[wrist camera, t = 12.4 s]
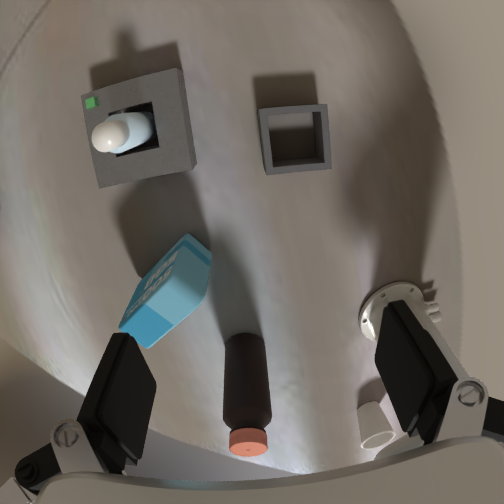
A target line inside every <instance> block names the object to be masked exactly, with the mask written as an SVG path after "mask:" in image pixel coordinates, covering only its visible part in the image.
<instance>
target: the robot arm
mask: <svg viewBox="0 0 504 504" xmlns="http://www.w3.org/2000/svg"><path fill="white" fill-rule="evenodd" d="M438 309H439V305H438V303H434V304H430V305H427V304H425V303H424V297H423V294H422V292H421V291H420V290H419V288H418V287H417V286H416V285H414V284H412V283H410V282H402V281H400V282H394V283H391V284H388V285H386V286H384V287H382V288H380V289H379V290H378V291H376V292H375V293H374V294H373V295H372V296H371V297H370V298H369V299H368V300H367V301H366V303H365V304H364V306H363V308H362V310H361V312H360V316H359V326H360V329H361V331H362V333H363V335H364V336H365V337H366V338H368V339H370V340H372V341H377V348H376V353H375V364H376V367H377V369H378V371H379V374H380V376H381V378H382V381H383V383H384V386H385V388H386V390H387V393H388V395H389V398H390V400H391V403H392V405H393V408H394V410H395V413H396V415H397V418H398V420H399V423H400V425H401V428H402V430H403V431H404V432H407V433H408V434H406V435H404V436H403V437H401V438H399V439H398V440H396V441H394V442H393V443H391V444H389V445H388V446H386V447H385V448H383V449H382V450H381V451H380V452H379V453H378V454H377V455H376V457H375V459H374V460H373V461H369V462H366V463H362V464H357V465H353V466H349V467H344V468H339V469H334V470H329V471H324V472H318V473H312V474H305V475H298V476H291V477H282V478H272V479H262V480H261V479H260V480H244V481H181V480H165V479H155V478H143V477H135V476H127V475H126V473H125V471H124V468H125V464H127V465H134V466H137V461H138V459H141V457H142V454H143V448H144V444H145V439H146V434H147V429H148V424H149V420H150V415H151V411H152V406H153V402H154V397H155V393H156V381H155V379H154V377H153V375H152V373H151V371H150V369H149V367H148V365H147V363H146V361H145V359H144V357H143V355H142V353H141V351H140V349H139V347H138V344H137V342H136V340H135V338H134V337H133V336H130V334H129V333H127V332H125V333H114V334H113V335H112V337H111V339H110V341H109V343H108V345H107V348H106V350H105V352H104V354H103V357H102V359H101V361H100V363H99V366H98V368H97V370H96V372H95V375H94V377H93V380H92V382H91V384H90V387H89V389H88V392H87V394H86V397H85V399H84V402H83V404H82V407H81V410H80V412H79V415H78V417H77V420H73V419H65V420H63V421H60V422H59V423H57V424H56V425H55V427H54V428H53V430H52V432H51V436H50V439H51V443H49V444H47V445H46V446H44V447H42V448H40V449H39V450H37V451H35V452H33V453H32V454H30V455H28V456H26V457H25V458H23V459H22V460H20V461H19V463H18V464H17V466H16V468H15V478H12V477H11V478H10V479H9V480H8V481H7V482H6V483H5V484H4V485H3V486H2V487H1V488H0V504H504V401H501V400H498V399H495V398H492V397H489V396H488V391H487V388H486V386H485V385H484V384H483V383H482V382H481V381H480V380H478V379H476V378H473V377H470V376H469V375H468V373H467V372H466V370H465V369H464V368H463V366H462V365H461V363H460V362H459V360H458V358H457V357H456V355H455V354H454V352H453V351H452V349H451V348H450V346H449V345H448V343H447V342H446V341H445V339H444V338H443V336H442V335H441V333H440V332H439V330H438V329H437V328H436V326H435V325H434V323H436V322H439V321H441V319H442V316H441V313H440V312H439V311H437V310H438ZM433 311H437V312H433ZM429 312H433V313H430V314H428V313H429Z"/></svg>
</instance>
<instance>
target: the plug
mask: <svg viewBox="0 0 504 504" xmlns="http://www.w3.org/2000/svg"><path fill="white" fill-rule="evenodd" d="M156 134H157V130H156V124H155V118H154V115H153V114H152V113H150V112H146V111H143V112H132V113H122V114H115V115H112V116H110V117H108V118H107V119H106V120H105V121H104V122H102V123H100V124H98V125H97V126H96V127H95V128H94V130H93V132H92V143H93V146H94V147H95V148H96V149H97V150H98V151H100V152H112V153H121V152H124V151H126V150H129V149H131V148H133V147H135V146H138V145H140V144H143V143H145V142H147V141H150V140H151V139H153V138H154V137H155V136H156Z"/></svg>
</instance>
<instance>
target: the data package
mask: <svg viewBox="0 0 504 504" xmlns="http://www.w3.org/2000/svg"><path fill="white" fill-rule="evenodd" d="M211 260H212V253H211V252H210V251H209V250H208V249H206V248H205V247H204V246H203V245H202V244H201V243H200V242H198V241H197V240H196V239H195V238H194V237H193V236H192V235H190V234H189V233H186V234H185V235H184V236H183V237H182V238H181V239H180V240H179V241H178V242H177V243H176V244H175V245H174V246H173V247H172V248H171V249H170V250H169V251H168V252H167V253H166V254H165V255H164V256H163V257H162V258H161V259H160V260H159V261H158V262H157V263H156V264H155V266H154V267H153V268H152V269H151V270H150V271H149V272H148V273H147V274H146V275H145V276H144V277H143V279H142V280H141V281H140V283H139V284H138V286H137V288H136V290H135V292H134V294H133V296H132V298H131V301H130V303H129V305H128V307H127V309H126V311H125V313H124V315H123V318H122V320H121V322H120V324H119V329H120V330H121V331H122V332H123V333H125V332H127V333H129V334H130V336H133V337H134V338H135V340H136V342H137V343H139V344H140V345H142V346H143V347H145V348H150V347H151V346H152V345H154V344H155V343H156V342H157V341H158V340H160V339H161V338H162V337H163V336H164V335H165V334H167V333H168V332H169V331H170V330H171V329H173V328H174V327H175V326H176V325H177V324H178V323H180V322H181V321H182V320H183V319H184V318H185V317H187V316H188V315H189V314H190V313H191V312H193V311H194V310H195V309H196V308H197V307H198V306H199V305H200V304H201V302H202V301H203V299H204V297H205V295H206V290H207V284H208V278H209V272H210V266H211Z"/></svg>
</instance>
